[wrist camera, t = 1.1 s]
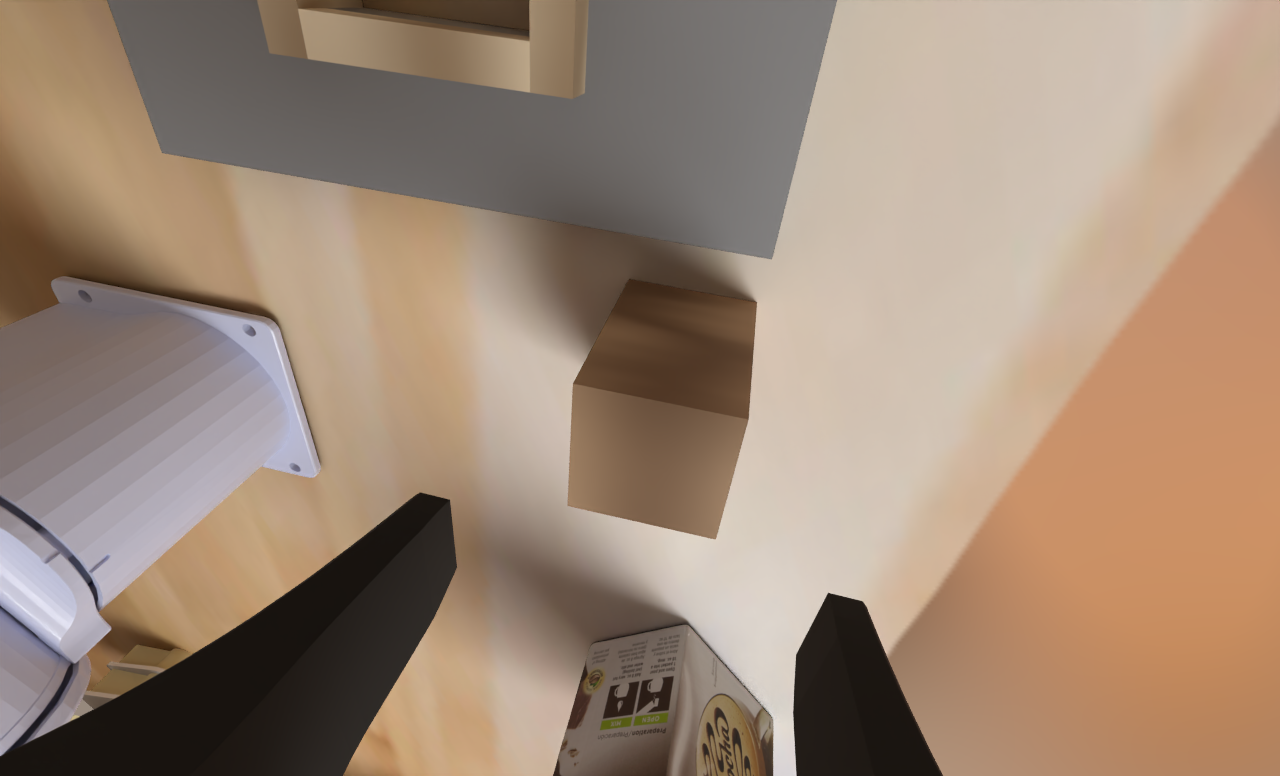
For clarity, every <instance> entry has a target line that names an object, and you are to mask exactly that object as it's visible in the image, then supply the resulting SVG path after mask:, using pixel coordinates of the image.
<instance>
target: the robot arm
mask: <svg viewBox="0 0 1280 776" xmlns="http://www.w3.org/2000/svg"><path fill="white" fill-rule="evenodd" d="M51 287H52V290H53V292H54V294H55V295H56V297H57V299H58V301H59V304H56V305H54V306H52V307H49V308H47V309H44V310H42V311H40V312H37V313H35V314H33V315H30V316H28V317H25V318H23V319H21V320H18V321H16V322H13V323H11V324H9V325H6V326H4V327H2V328H0V776H343V774H344V772H345V770H346V768H347V766H348V764H349V762H350V760H351V758H352V756H353V754H354V752H355V751H356V749H357V747H358V745H359V743H360V742H361V740H362V738H363V736H364V734H365V733H366V731H367V729H368V727H369V726H370V724H371V722H372V721H373V719H374V717H375V716H376V714H377V712H378V711H379V709H380V707H381V706H382V704H383V702H384V701H385V699H386V697H387V696H388V694H389V692H390V691H391V689H392V688H393V686H394V684H395V683H396V681H397V679H398V678H399V676H400V674H401V673H402V671H403V669H404V668H405V666H406V664H407V663H408V661H409V659H410V658H411V656H412V654H413V653H414V651H415V649H416V647H417V646H418V644H419V642H420V641H421V639H422V637H423V636H424V634H425V632H426V631H427V629H428V627H429V625H430V624H431V622H432V620H433V619H434V617H435V614H436V612H437V610H438V608H439V606H440V604H441V602H442V600H443V597H444V595H445V593H446V591H447V589H448V586H449V584H450V582H451V579H452V577H453V575H454V573H455V570H456V568H457V564H456V554H455V544H454V535H453V525H452V516H451V506H450V500H448V499H444V498H440V497H436V496H432V495H428V494H424V493H419V494H417V495H415V496H414V497H413V498H411V499H410V500H409V501H408V502H406V503H405V504H404V505H403V506H401V507H400V508H399V509H398V510H396V511H395V512H394V513H393V514H391V515H390V516H389V517H388V518H386V519H385V520H384V521H382V522H381V523H380V524H379V525H377V526H376V527H375V528H374V529H372V530H371V531H370V532H369V533H367V534H366V535H365V536H363V537H362V538H361V539H360V540H358V541H357V542H356V543H354V544H353V545H352V546H351V547H349V548H348V549H347V550H345V551H344V552H343V553H341V554H340V555H339V556H337V557H336V558H335V559H333V560H332V561H330V562H329V563H328V564H326V565H325V566H324V567H322V568H321V569H320V570H318V571H317V572H316V573H314V574H313V575H312V576H310V577H309V578H308V579H306V580H305V581H303V582H302V583H301V584H299V585H298V586H296V587H295V588H293V589H292V590H290V591H289V592H288V593H286V594H285V595H283V596H282V597H280V598H279V599H277V600H276V601H275V602H273V603H272V604H270V605H269V606H267V607H266V608H264V609H263V610H262V611H260V612H259V613H257V614H256V615H254V616H253V617H251V618H250V619H248V620H247V621H245V622H243V623H242V624H240V625H239V626H237V627H236V628H234V629H233V630H231V631H230V632H228V633H226V634H225V635H223V636H222V637H220V638H218V639H217V640H215V641H214V642H212V643H210V644H209V645H207V646H205V647H204V648H202V649H200V650H199V651H197V652H195V653H194V654H192V655H190V656H189V657H187V658H185V659H184V660H182V661H180V662H179V663H177V664H175V665H173V666H172V667H170V668H168V669H166V670H165V671H163V672H161V673H159V674H157V675H156V676H154V677H152V678H150V679H149V680H147V681H145V682H143V683H142V684H140V685H138V686H136V687H134V688H133V689H131V690H129V691H127V692H125V693H124V694H122V695H120V696H118V697H116V698H114V699H112V700H111V701H109V702H107V703H105V704H103V705H101V706H99V707H97V708H95V709H94V710H92V711H90V712H88V713H86V714H84V715H82V716H80V717H78V718H76V719H74V720H72V721H70V720H71V719H72V717H73V715H74V713H75V711H76V709H77V707H78V705H79V704H80V702H81V700H82V698H83V696H84V694H85V691H86V689H87V686H88V684H89V680H90V675H91V664H90V660H89V658H88V656H87V655H86V653H87V652H88V651H89V650H90V649H91V648H92V647H93V646H95V645H96V644H97V643H98V642H99V641H100V640H101V639H102V638H103V637H104V636H105V635H106V634H107V633H108V632H109V631H110V630H111V626H110V625H109V624H108V623H107V622H106V621H105V620H104V619H103V618H102V616H101V615H100V614H99V612H100V611H101V610H102V609H103V608H104V607H105V606H106V605H107V604H109V603H110V602H111V601H112V600H113V599H114V598H115V597H116V596H117V595H119V594H120V593H121V592H122V591H123V590H124V589H125V588H126V587H127V586H129V585H130V584H131V583H132V582H133V581H134V580H135V579H136V578H137V577H139V576H140V575H141V574H142V573H143V572H144V571H145V570H146V569H147V568H149V567H150V566H151V565H152V564H153V563H154V562H155V561H156V560H157V559H159V558H160V557H161V556H162V555H163V554H164V553H165V552H166V551H167V550H169V549H170V548H171V547H172V546H173V545H174V544H175V543H176V542H177V541H179V540H180V539H181V538H182V537H183V536H184V535H185V534H186V533H188V532H189V531H190V530H191V529H192V528H193V527H194V526H195V525H196V524H198V523H199V522H200V521H201V520H202V519H203V518H204V517H205V516H206V515H208V514H209V513H210V512H211V511H212V510H213V509H214V508H215V507H216V506H218V505H219V504H220V503H221V502H222V501H223V500H224V499H225V498H226V497H228V496H229V495H230V494H231V493H232V492H233V491H234V490H235V489H236V488H238V487H239V486H240V485H241V484H242V483H243V482H244V481H245V480H246V479H248V478H249V477H250V476H251V475H252V474H253V473H254V472H255V471H256V470H258V469H259V468H260V467H261V466H262V467H266V468H270V469H274V470H279V471H283V472H287V473H292V474H296V475H300V476H304V477H311V478H313V477H315V476H316V475H317V474H318V473H319V472H320V471H321V466H320V463H319V459H318V456H317V453H316V449H315V446H314V443H313V439H312V436H311V433H310V429H309V426H308V423H307V419H306V416H305V413H304V409H303V406H302V402H301V399H300V396H299V392H298V389H297V386H296V382H295V379H294V376H293V372H292V369H291V366H290V362H289V359H288V355H287V352H286V349H285V345H284V342H283V339H282V335H281V332H280V329H279V327H278V325H277V324H276V323H275V322H274V321H272V320H271V319H269V318H266V317H263V316H258V315H253V314H249V313H244V312H239V311H234V310H229V309H224V308H219V307H214V306H209V305H204V304H199V303H194V302H190V301H185V300H180V299H175V298H170V297H165V296H160V295H155V294H150V293H145V292H140V291H136V290H131V289H126V288H121V287H116V286H111V285H106V284H101V283H96V282H91V281H86V280H82V279H77V278H72V277H67V276H61V277H58V278H56V279H54V280H52V281H51ZM793 717H794V736H795V754H796V772H797V776H943V775H942V773H941V771H940V769H939V767H938V765H937V763H936V761H935V759H934V757H933V755H932V753H931V751H930V749H929V747H928V745H927V743H926V741H925V739H924V737H923V734H922V733H921V730H920V728H919V726H918V724H917V722H916V720H915V718H914V716H913V714H912V712H911V709H910V707H909V705H908V703H907V701H906V699H905V697H904V694H903V692H902V690H901V688H900V685H899V683H898V681H897V679H896V676H895V674H894V672H893V670H892V667H891V665H890V663H889V661H888V658H887V656H886V653H885V651H884V649H883V646H882V644H881V641H880V639H879V637H878V634H877V632H876V629H875V627H874V624H873V622H872V619H871V617H870V615H869V612H868V609H867V607H866V606H865V604H864V603H863V601H859V600H855V599H851V598H847V597H843V596H838V595H834V594H830V593H828V594H827V596H826V598H825V600H824V602H823V604H822V606H821V608H820V610H819V612H818V614H817V616H816V618H815V620H814V622H813V623H812V625H811V627H810V629H809V631H808V633H807V635H806V637H805V639H804V641H803V643H802V645H801V647H800V649H799V650H798V652H797V654H796V668H795V686H794V710H793Z"/></svg>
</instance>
